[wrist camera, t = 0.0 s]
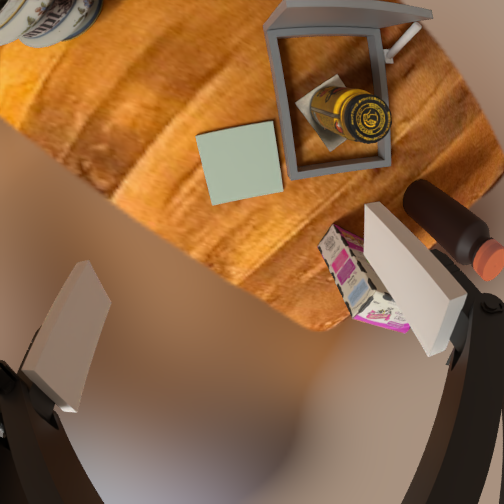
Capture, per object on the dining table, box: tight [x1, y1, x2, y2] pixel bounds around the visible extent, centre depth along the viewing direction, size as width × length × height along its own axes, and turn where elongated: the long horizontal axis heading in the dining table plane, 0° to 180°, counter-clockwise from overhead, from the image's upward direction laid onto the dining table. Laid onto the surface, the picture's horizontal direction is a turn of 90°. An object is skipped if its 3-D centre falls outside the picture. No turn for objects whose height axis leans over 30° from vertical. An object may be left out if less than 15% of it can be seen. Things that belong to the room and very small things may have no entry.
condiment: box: [295, 74, 392, 152], centre depth 31 cm, size 7×8×12 cm
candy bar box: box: [317, 224, 411, 334], centre depth 41 cm, size 11×5×16 cm, turn 63°
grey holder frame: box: [263, 0, 433, 180], centre depth 29 cm, size 21×16×14 cm
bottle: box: [403, 180, 504, 281], centre depth 36 cm, size 7×7×20 cm
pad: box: [196, 121, 283, 205], centre depth 39 cm, size 10×10×1 cm
